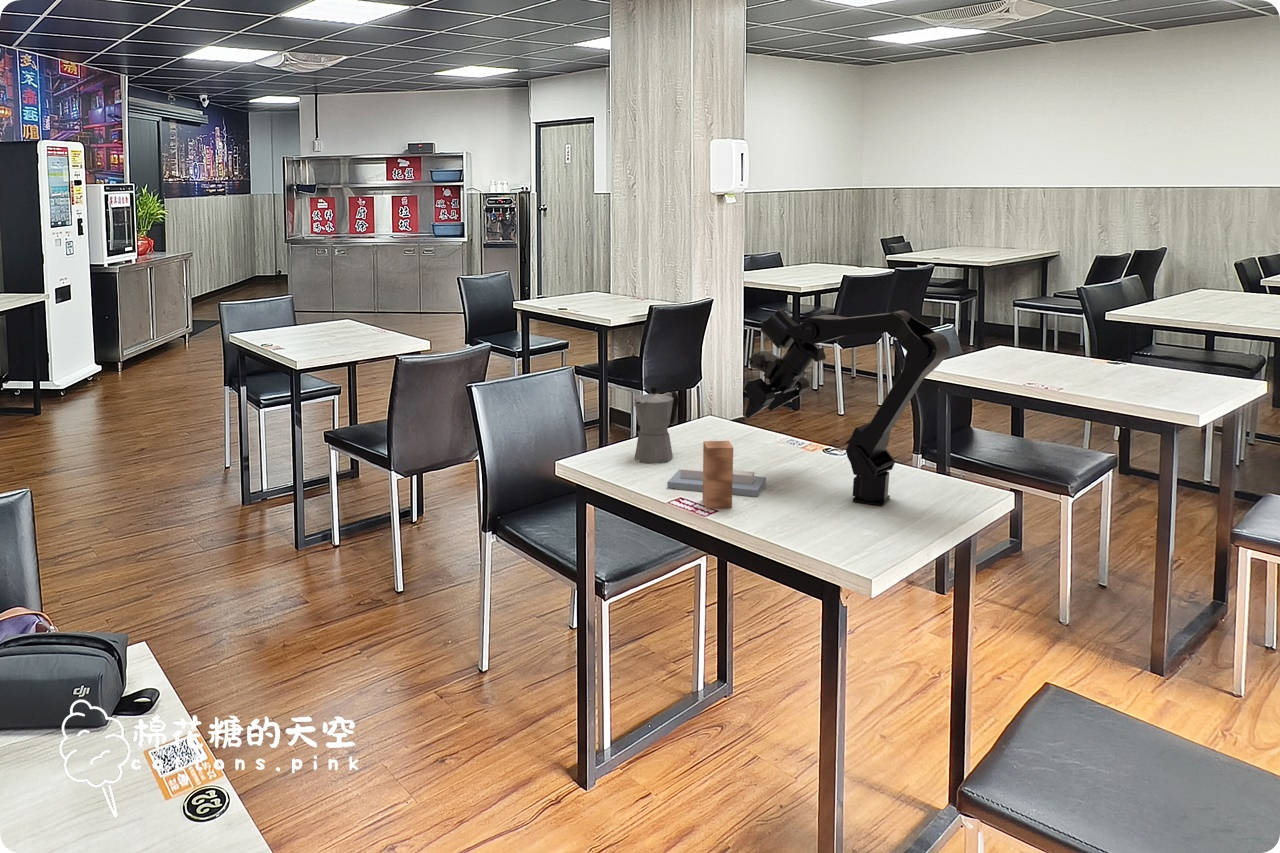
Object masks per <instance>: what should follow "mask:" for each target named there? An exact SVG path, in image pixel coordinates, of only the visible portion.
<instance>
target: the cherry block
mask: <svg viewBox="0 0 1280 853" xmlns="http://www.w3.org/2000/svg"><path fill="white" fill-rule="evenodd" d="M702 450H703V452H702V459H703V460H702V461H703V462H702V467H703V492H702V502H703V503H702V504H703V505H704V507H705V509H706V508H711V509H732V508H733V495H732V483H733V470H734V446H733V445H732V442H730V440H704V441H703V448H702Z"/></svg>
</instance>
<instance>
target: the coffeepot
mask: <svg viewBox="0 0 1280 853" xmlns="http://www.w3.org/2000/svg"><path fill="white" fill-rule="evenodd" d="M658 387H659V386H656V385H653V386H650V390H651V391H650V392H651V393H647V394H642V395H641V394H640V395H638V396H636V397H635V398H634V399H633V400H634V402H633V406H634V407H635V413H636V418H637V425H638V426H639V433H638V435H637V441H636V448H635V449H636V450H635V454H634V458H636V459H637V460H639V461H641V462H640V463H643V462H645V463H644V464H650V463H659V464H665V463H668V461H669V462H671V460H672V459H673V458H674V457H673V455H674V454H673V450H672V444H671V443H672V442H671V436H670V433H669V431H668V428H669V426H670V425H673V424H674V423H675V419H676V414H677V410H678V407H679V403H680V396H679V395H678V393H676V391H674V390H673V391H669V392H664V393H663V394H661V393H658ZM637 460H636V461H637ZM639 461H638V462H639ZM663 462H664V463H663Z"/></svg>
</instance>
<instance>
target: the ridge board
mask: <svg viewBox="0 0 1280 853" xmlns="http://www.w3.org/2000/svg"><path fill="white" fill-rule="evenodd" d="M666 484H667V489H670V488H675V489H674V490H680V489H683V491H692V492H693V491H694V492H702V493H703V466H689V465H683V466H682V468H680V469H678V470H677V471H676V472H675V473H674V475H672V476H671V478H669V479H668V480H667V483H666ZM766 484H767V476H758V475H755V471H745V470H737V469H736V470H734V469H733V483H732V496H733V495H734V496H745V497H754V498H757V497H758V496H759V495H760V493H761V491H762V490H763V489H764V488H765V485H766Z"/></svg>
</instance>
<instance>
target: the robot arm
mask: <svg viewBox="0 0 1280 853" xmlns="http://www.w3.org/2000/svg"><path fill="white" fill-rule="evenodd" d="M888 332H890V333H891V334H892V336H894V338H895V339H896V340H897V342H898V343H899V345H900V346H901V348H903V349H904V350H905V351H906V353H905V356H904V359H903V368H902V370H901V372H900V374H899V376H898V377H897V379H896V381H895V382H894V384H893V386H892V387H891V389H890V390H889V392H888V394H887V395H886V397H885V398H884V400H883V402H882V403H881V405H880V407H879V408H878V410H877V411H876V412H875V415H874V416H873V417H872V419H871V421H870V422H867V423H865V424H863V425H859V426H856V427H855V428H854V429H853V432H852V433H851V434H852V435H851V436H850V438H849V439H848V440H847V441H846V442H845V443H846V444H847V446H846V448H845V453H846V457H847V459H848V461H849V462H850V465H851V470H852V473H853V475H855V476H854V478H853V481H852V482H853V486H852V496H853V498H852V502H855V503H861V504H865V505H866V504H867V505H874V506H881V507H883V506H884V505H885V504H886V503H887V501H889V499H890V497H891V496H890V495H889V484H890V471H891V470H893V468H894V466H895V464H896V461H895V459H894V458H893V456H892V455H891V454H890V452H889V451H888V450H887V448H888V445H889V443H890V434H891V431H892V430H893V427H894V426H895V425H896V423H897V422H898V420H899V418H900V417H901V416H902V413H903V412H904V411H905V409H906V407H907V406H908V404H909V403H910V401H911V399H912V398H913V397H914V394H915V393H916V392H917V390H918V388H919V387H920V385H921V384H922V382H923V381H924V379H925V378H926V377H927V376H928V375H929V374H931V373H932V372H933V371H934V370H935V369H937V367H939V365H940V364H941V363H942V362H943V361H944V360H945V359H946V358H947V357H948V356H949V354H950V351H951V346H950V342H949V340H948V338H947V337H946V336H945V335H944V334H942V333H940V332H936V331H935V330H933V328H932V327H930V326H928V325H926V324H925V323H923V322H922V321H919V320H918V319H916V318H915V317H914V316H912V315H911V313H909V312H908V311H906V310H898V311H893V312H887V313H878V314H869V315H867V314H866V315H860V316H851V317H848V316H847V317H846V316H840V315H833V314H821V315H816V316H815V315H814V316H812V317H807V318H805V319H804V320H803V321H802V323H799V324H797V323H796V322H795V321H794V319H792V318H791V317H790V316H789V315H788V313H787V311H785V310H784V309H779V310H777V311H776V312H775V313H774V314H773V315H771V316H770V317H769V318H768V319H767V320H765V321H764V322H763V323H762V325H761V326H760V333H762V334H763V335H764V336H765V337H766V338H767V339H768V340H769V341H770V342H771V343H772V344H773V345H774V346H775V347H776V348H777V349H782V348H783V349H787V350H786V352H785V353H784V354H783V356H782V357H779V356H777V355H775V354H774V353H771V352H768V351H766V350H761V351H756V352H753V354H751V356H750V357H749V358H748V361H749V365H750V367H751V368H753V369H756V370H759V371H761V372H763V376H764V378H765V379H767V380H768V382H769V384H767V382H765V380H764V379H763V378H761V377H758V378H753V379H748V380H747V381H745V384H744V385H743V390H744V391H745V392H746V394H748V402H747V406H746V409H745V414H744V416H745V417H746V418H747V419H750V418H752V417H753V416H755V415H756V414H758V413H760V412H761V411H762V410H764V409H766V408H767V409H768V410H769V411H770V412H772V411H774V410H776V409H778V408H780V407H782V406H783V405H785V404H787V403H789V402H790V401H792V400H794V399H796V398H798V397H801V395H803V394H806V393H807V391H809V389H810V381H809V380H808V379H807V378H806V375H807V372H806V370H807V369H808V368H809V366H810V365H811V363H812V362H813V361H815V362H816V363H817V362H821V361H822V362H823V361H825V360H826V359H827V358H826V353H825V348H824V347H818V345H817V344H820V343H821V344H822V343H825V342H829V341H832V340H835V339H839V338H842V337H846V336H856V335H866V334H867V335H868V334H877V333H888Z"/></svg>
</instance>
